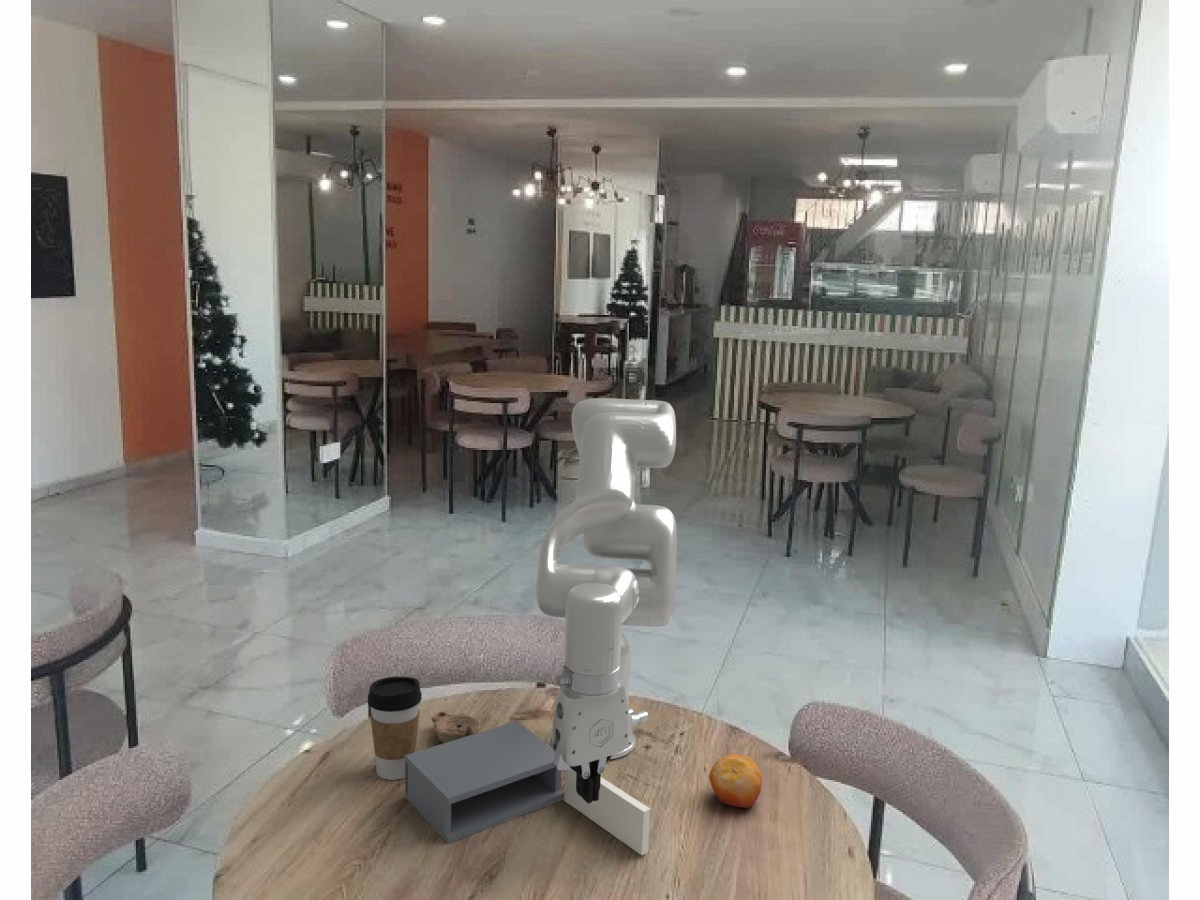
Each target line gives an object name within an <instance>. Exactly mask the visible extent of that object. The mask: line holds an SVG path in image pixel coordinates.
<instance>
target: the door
mask: <svg viewBox="0 0 1200 900" xmlns="http://www.w3.org/2000/svg"><path fill="white" fill-rule="evenodd" d="M564 802H565V803H567V804H568V805H569V806H572V807H573V808H574V809H576V810H577V811H578V812H579V813H581V814H583V816H586V817H587V818H588V819H589V820H591V821H593V822H594V823H596V825H598V826H599V827H601V828H602V829H604V830H605V831H607V832H608V833H609V834H611V835H612V836H614V837H615V838H616V839H618V840H619V841H621V842H623V844H625V845H626V846H627V847H629V848H631V849H632V850H634V851H635V852H636V853H638V854H639V855H641V856H644V855H645V854H648V853H649V843H650V841H649V840H650V838H649V837H650V817H651V808H649V807H648V806H647V805H645V804H644V803H642V802H640V801H639V800H637V799H636V798H635V797H633V796H631V795H629V793H626V792H625V791H623V790H622V789H620V787H617V785H614V784H613V783H611V782H610V781H608V780H606V779H605V778H603V777H602V776H601V781H600V790H599V800H598V801H592V803H589V804H588V803H587V802H586V801H585V800H584V799H583V798H582V797H581V796H579V795H578V794H577V791H576V772H575V771H574V770H572V769H569V770H564Z"/></svg>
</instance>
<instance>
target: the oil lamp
mask: <svg viewBox="0 0 1200 900" xmlns="http://www.w3.org/2000/svg"><path fill="white" fill-rule="evenodd" d="M430 719H431V721H432V723H433V727H434V728H435V733H436V735H437V738H438V739H439V741H441V742H442V744H444V743H447V742H450V741H454V740H457V739H460V738H463V737H467V736H470V735H473V734H476V733H480V732H481V723H480V721H479V720H478V719H477V718H474V717H472V716H469V715H464V713H462V712H461V713H458V714H452V713H451V711H450V710H447V711H438V712H436V713H435V714H434V715H433V716H431V718H430Z"/></svg>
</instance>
